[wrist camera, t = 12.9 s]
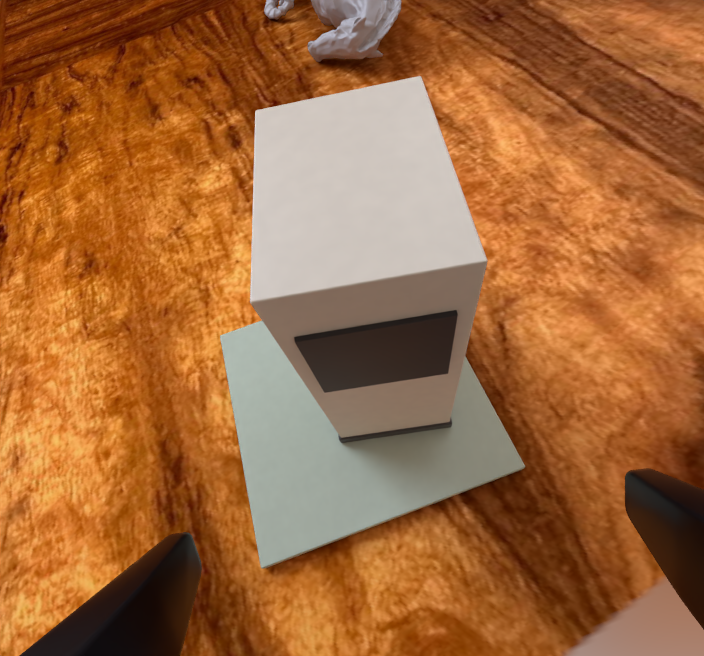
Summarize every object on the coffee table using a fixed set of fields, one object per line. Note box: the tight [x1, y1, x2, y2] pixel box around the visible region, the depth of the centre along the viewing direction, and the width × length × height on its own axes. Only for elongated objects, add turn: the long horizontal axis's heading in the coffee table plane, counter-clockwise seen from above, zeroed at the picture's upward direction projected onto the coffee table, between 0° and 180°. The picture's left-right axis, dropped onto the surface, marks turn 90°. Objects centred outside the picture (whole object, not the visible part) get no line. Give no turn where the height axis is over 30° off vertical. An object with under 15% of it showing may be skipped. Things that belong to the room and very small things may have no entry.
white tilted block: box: [250, 76, 487, 443], centre depth 15 cm, size 5×7×12 cm
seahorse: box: [264, 0, 401, 62], centre depth 38 cm, size 5×12×20 cm
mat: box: [220, 321, 525, 568], centre depth 20 cm, size 12×12×1 cm
